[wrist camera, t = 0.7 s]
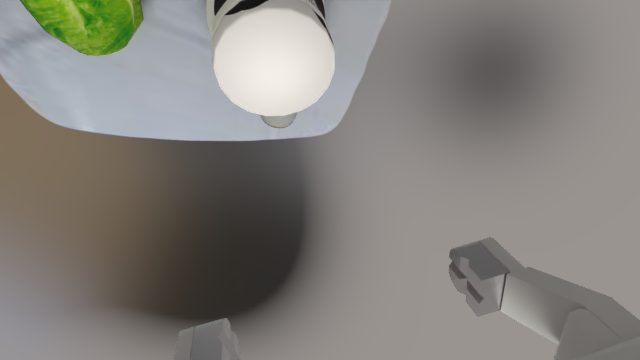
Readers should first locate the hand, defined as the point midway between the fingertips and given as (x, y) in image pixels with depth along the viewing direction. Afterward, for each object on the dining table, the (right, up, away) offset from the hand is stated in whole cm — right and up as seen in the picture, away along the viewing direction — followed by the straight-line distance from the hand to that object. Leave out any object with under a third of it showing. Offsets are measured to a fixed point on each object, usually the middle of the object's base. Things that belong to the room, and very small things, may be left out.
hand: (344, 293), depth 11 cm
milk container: (-10, +32, +40) cm, 52 cm away
